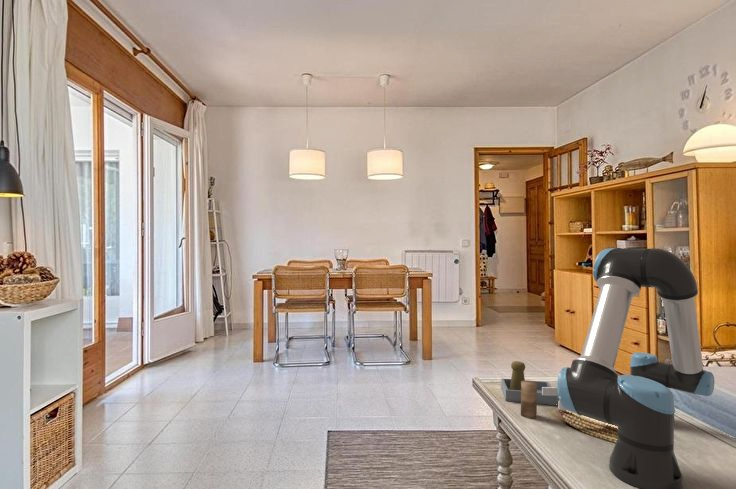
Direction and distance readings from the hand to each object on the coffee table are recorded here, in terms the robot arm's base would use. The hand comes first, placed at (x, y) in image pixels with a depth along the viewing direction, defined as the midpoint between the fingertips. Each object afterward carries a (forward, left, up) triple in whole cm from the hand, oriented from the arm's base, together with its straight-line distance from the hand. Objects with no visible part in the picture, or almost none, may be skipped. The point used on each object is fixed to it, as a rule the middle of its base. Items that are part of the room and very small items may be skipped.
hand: (550, 397), depth 142 cm
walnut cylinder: (-2, +7, -6) cm, 9 cm away
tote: (+18, +4, -6) cm, 20 cm away
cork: (+22, +7, -5) cm, 23 cm away
